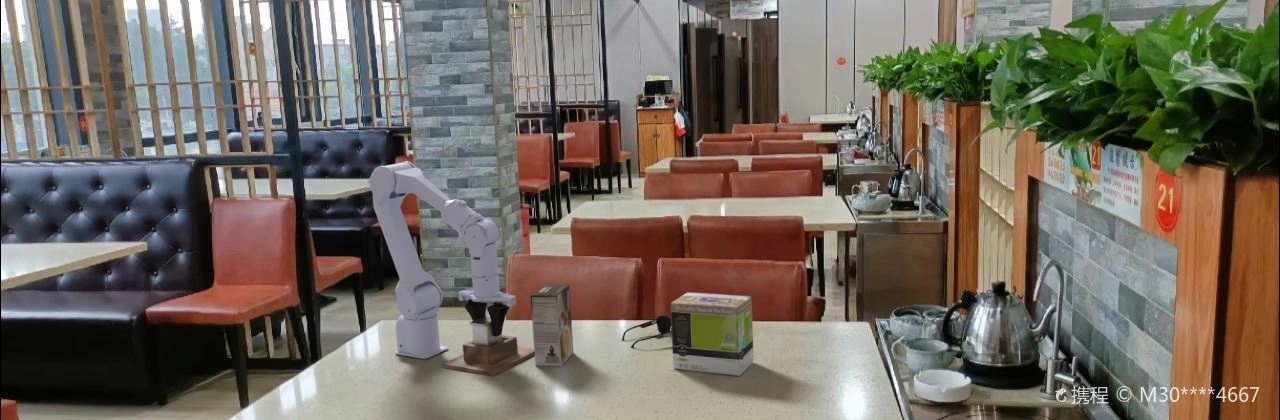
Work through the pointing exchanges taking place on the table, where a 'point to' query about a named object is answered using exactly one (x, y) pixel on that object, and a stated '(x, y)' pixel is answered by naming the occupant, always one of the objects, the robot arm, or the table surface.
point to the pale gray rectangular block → (484, 332)
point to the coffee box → (552, 325)
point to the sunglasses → (662, 325)
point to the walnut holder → (490, 357)
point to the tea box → (712, 333)
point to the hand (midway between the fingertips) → (489, 334)
